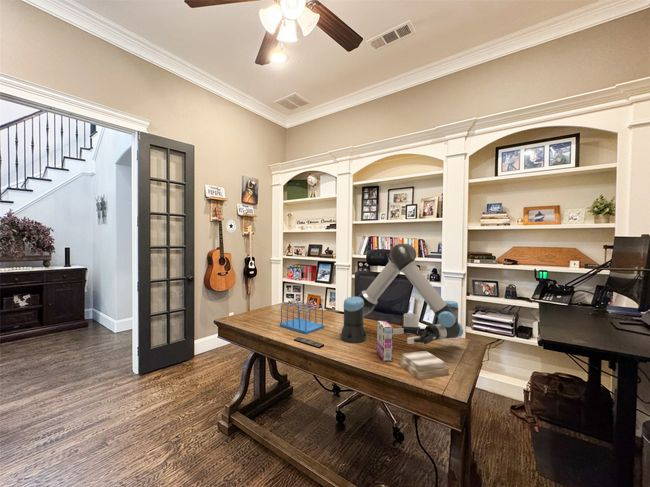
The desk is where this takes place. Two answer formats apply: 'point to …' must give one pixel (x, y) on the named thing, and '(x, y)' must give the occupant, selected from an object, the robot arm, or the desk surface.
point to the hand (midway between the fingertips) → (399, 336)
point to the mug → (411, 320)
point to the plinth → (423, 374)
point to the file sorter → (302, 320)
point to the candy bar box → (384, 340)
